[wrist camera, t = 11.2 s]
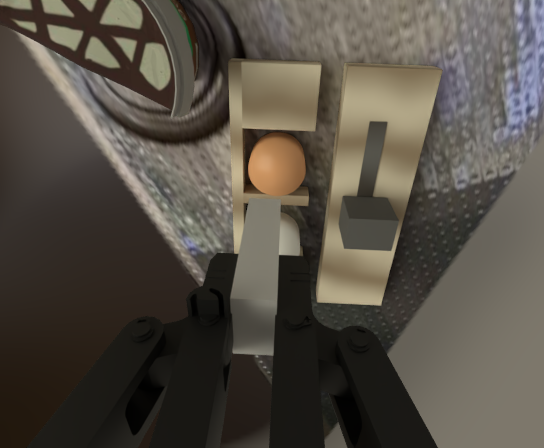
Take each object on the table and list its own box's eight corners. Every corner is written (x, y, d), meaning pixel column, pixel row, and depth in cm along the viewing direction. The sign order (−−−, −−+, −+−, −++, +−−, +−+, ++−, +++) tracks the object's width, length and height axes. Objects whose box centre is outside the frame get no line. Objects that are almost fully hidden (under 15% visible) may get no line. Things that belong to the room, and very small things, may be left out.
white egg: (249, 209, 33) (246, 225, 31) (301, 212, 33) (302, 228, 30) (249, 251, 35) (247, 269, 33) (297, 253, 35) (298, 271, 33)
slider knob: (342, 195, 32) (349, 218, 28) (387, 197, 32) (399, 220, 28) (338, 224, 33) (344, 248, 30) (380, 226, 33) (391, 251, 30)
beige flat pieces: (231, 58, 28) (227, 61, 26) (433, 65, 28) (443, 69, 26) (238, 285, 41) (235, 298, 39) (376, 292, 41) (381, 306, 39)
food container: (242, 13, 27) (220, 16, 18) (211, 89, 30) (180, 122, 21) (78, -84, 24) (-38, -134, 16) (62, 10, 27) (-42, 12, 18)
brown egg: (251, 130, 31) (247, 141, 28) (306, 133, 31) (307, 143, 28) (251, 181, 33) (248, 194, 31) (302, 183, 33) (303, 197, 31)
